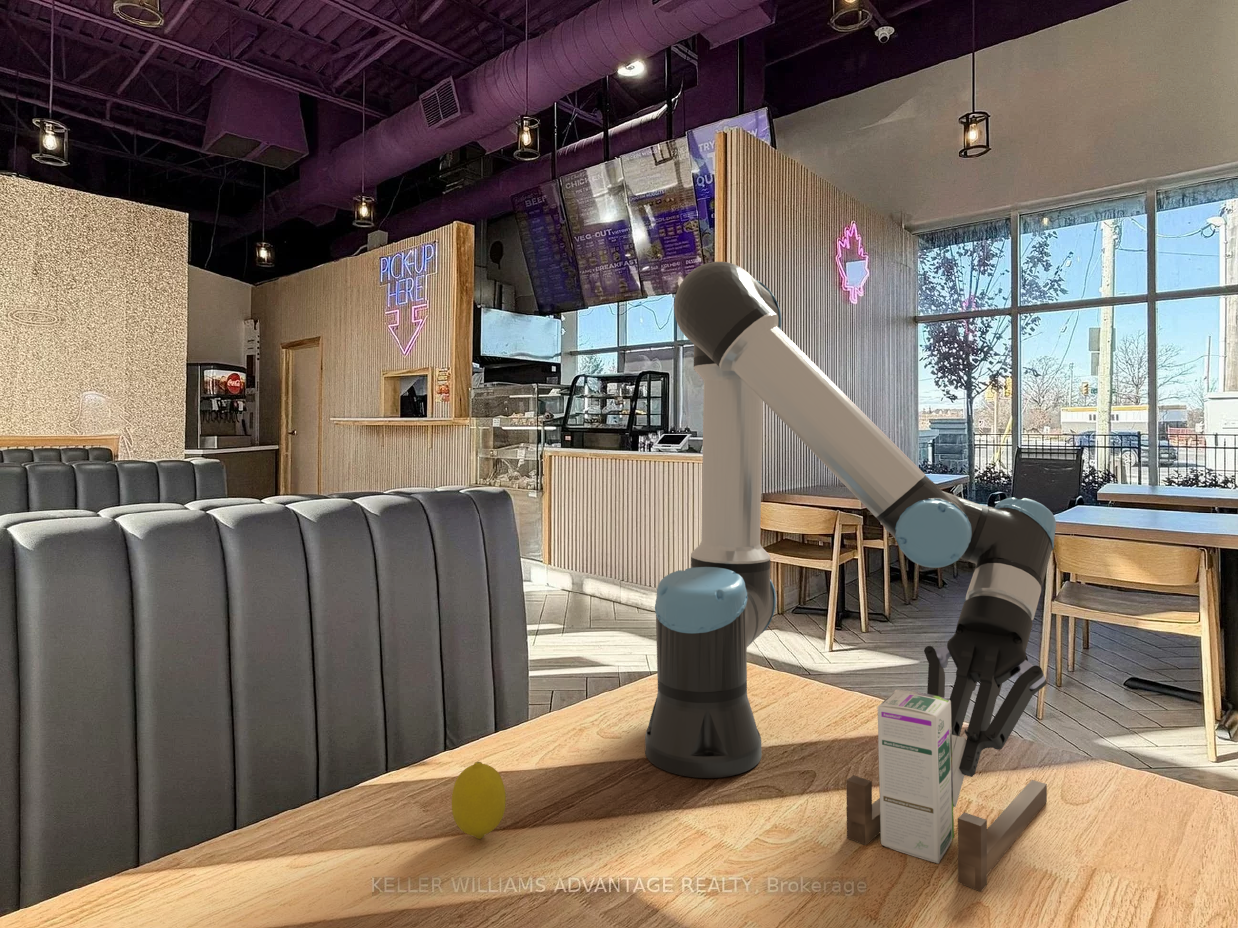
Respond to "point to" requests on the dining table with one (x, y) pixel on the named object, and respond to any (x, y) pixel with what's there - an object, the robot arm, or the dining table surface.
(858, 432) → the robot arm
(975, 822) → the brown wooden rack
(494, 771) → the lemon
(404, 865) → the dining table surface
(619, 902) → the dining table surface
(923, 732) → the syrup box
